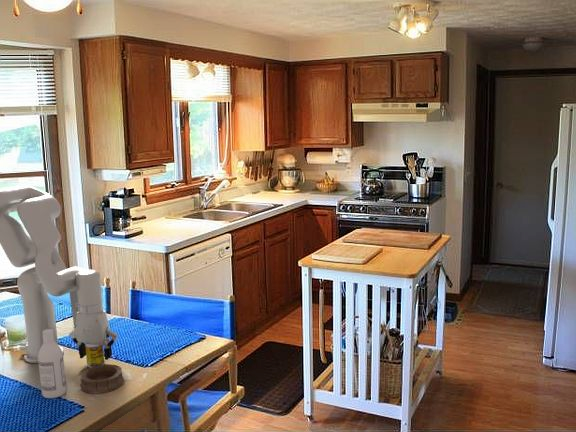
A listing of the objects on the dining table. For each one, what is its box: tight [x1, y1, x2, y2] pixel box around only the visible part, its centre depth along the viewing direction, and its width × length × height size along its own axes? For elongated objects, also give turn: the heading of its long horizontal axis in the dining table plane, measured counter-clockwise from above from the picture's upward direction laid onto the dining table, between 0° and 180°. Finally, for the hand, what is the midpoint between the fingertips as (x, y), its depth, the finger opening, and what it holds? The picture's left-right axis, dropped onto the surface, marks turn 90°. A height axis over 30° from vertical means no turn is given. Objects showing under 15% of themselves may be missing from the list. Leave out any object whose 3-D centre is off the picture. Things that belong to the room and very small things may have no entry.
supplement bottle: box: [85, 343, 106, 368], centre depth 192 cm, size 6×6×10 cm
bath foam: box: [37, 329, 67, 399], centre depth 173 cm, size 7×7×20 cm
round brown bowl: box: [79, 363, 125, 395], centre depth 180 cm, size 13×13×4 cm
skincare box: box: [68, 290, 79, 327], centre depth 231 cm, size 8×7×16 cm
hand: (95, 357), depth 193 cm, fingers open, 8 cm apart
